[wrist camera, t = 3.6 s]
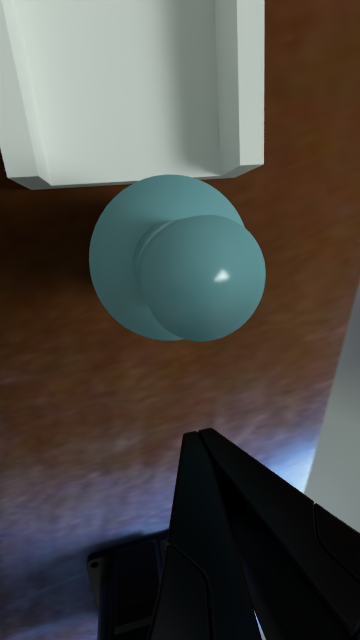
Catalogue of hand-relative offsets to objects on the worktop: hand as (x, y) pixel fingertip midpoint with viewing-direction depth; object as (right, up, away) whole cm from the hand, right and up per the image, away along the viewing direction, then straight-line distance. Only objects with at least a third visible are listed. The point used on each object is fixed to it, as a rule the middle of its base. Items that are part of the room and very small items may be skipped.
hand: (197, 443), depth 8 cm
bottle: (-2, +7, +6) cm, 10 cm away
